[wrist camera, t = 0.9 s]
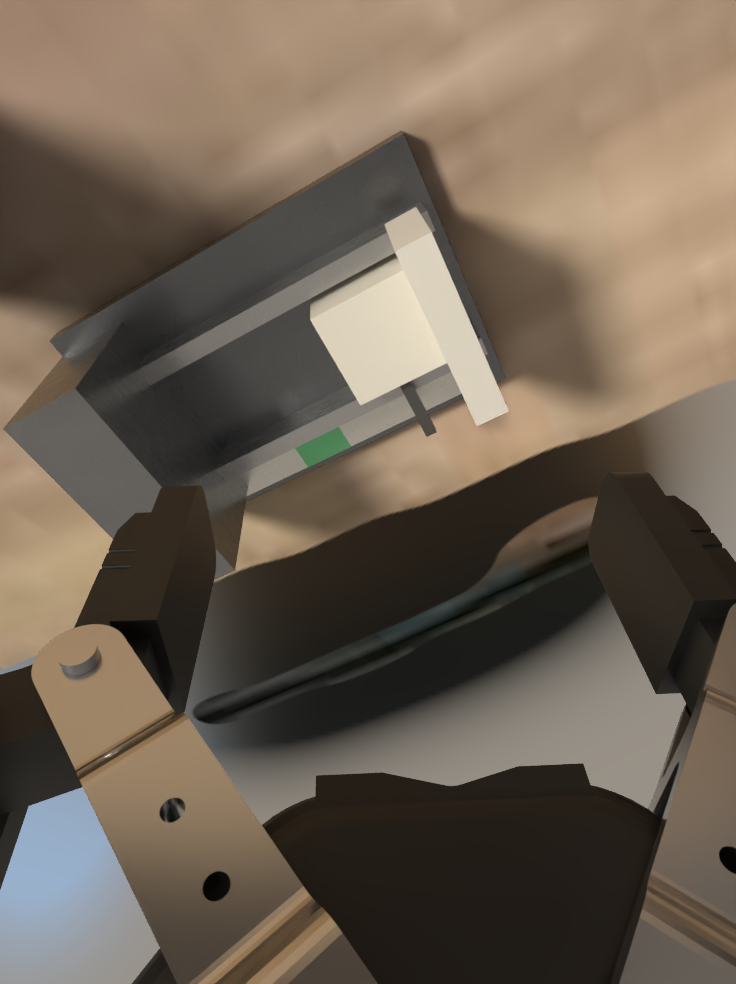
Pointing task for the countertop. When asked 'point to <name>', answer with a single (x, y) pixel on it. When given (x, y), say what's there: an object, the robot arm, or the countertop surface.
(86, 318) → the frame
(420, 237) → the cream t-shaped handle
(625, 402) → the countertop surface
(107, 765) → the robot arm
